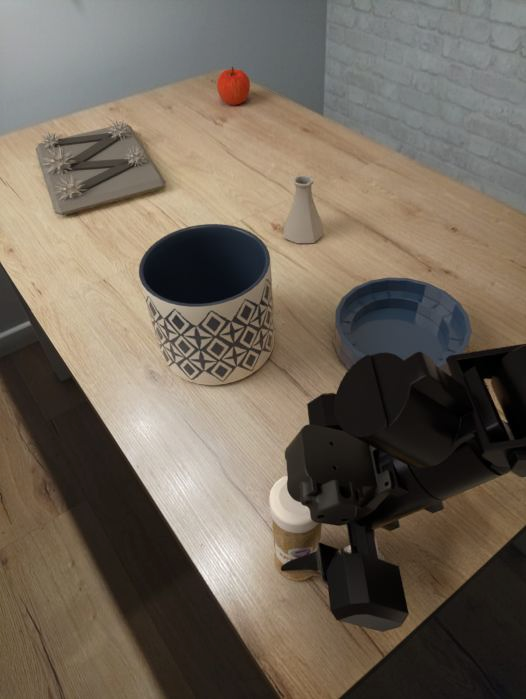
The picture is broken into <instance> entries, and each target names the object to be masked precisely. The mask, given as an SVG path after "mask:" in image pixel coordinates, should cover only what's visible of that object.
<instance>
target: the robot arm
mask: <svg viewBox="0 0 526 699" xmlns="http://www.w3.org/2000/svg"><path fill="white" fill-rule="evenodd" d="M446 363H447V365H448V368H449V370H450V373H451V376H449V375H448V374H447V373H445V372H444V371H442V370H441V369H440V368H438V367H437V366H436V364H435V363H434V361H433V360H432V359H431V358H430V357H428V356H427V355H425V354H424V353H423V352H416V353H415V354H413V355H411V356H410V357H408V358H407V359H405V360H403V359H401V358H400V357H398V356H397V355H395V354H391V353H377V354H374V355H371V356H370V355H366V356H364V357H363V358H361V359H360V360H358V361H357V362H356V363H355V364H354V365H353V366H352V367H351V368H350V369H348V370H347V371H346V372H345V374H344V376H343V377H342V379H341V381H340V382H339V385H338V387H337V389H336V393H334V392H325V393H321V394H320V395H318V396H317V397H316V398H314V399H312V400H310V401H309V402H308V403H307V404H306V407H307V416H308V424H305V425H304V426H302V427H301V429H300V431H299V432H298V433H297V434H296V435H295V437H294V438H293V439H292V440H291V442H290V443H289V444H288V445H287V447H286V448H285V449H284V459H285V463H286V475H287V477H288V480H287V490H288V493H289V495H290V496H291V497H292V498H293V499H294V500H296V501H298V502H301V504H302V505H304V506H307V507H308V508H309V510H310V516H311V519H312V521H314V522H316V523H322V525H330V526H336V527H340V526H345V525H346V528H347V535H348V541H349V544H348V545H347V546H346V545H345V546H344V547H343V549H342V548H341V549H340V548H337V547H334V546H332V545H328V544H325V543H323V542H320V543H318V549H317V551H316V552H313V553H310V554H307V555H304V556H302V557H299V558H296V559H293V560H290V561H288V562H287V563H285V564H283V565H282V566H281V571H282V572H286V573H290V574H300V575H311V577H321V580H322V582H323V584H324V585H326V587H327V590H328V601H329V610H330V612H331V614H332V615H333V616H334V618H335V620H336V621H337V622H342V623H345V624H348V625H353V626H358V627H362V628H366V629H369V630H374V631H378V632H380V633H381V632H382V633H384V632H388V631H391V630H394V629H399V628H401V627H402V626H403V624H404V623H405V622H406V620H407V618H408V617H409V614H410V613H409V607H408V603H407V598H406V594H405V588H404V584H403V579H402V575H401V569H400V565H397V564H394V563H392V562H390V561H386V559H385V557H384V556H383V555H382V553H381V552H380V551H379V546H378V540H377V536H376V530H377V529H383V530H386V531H388V532H392V531H395V530H397V529H400V528H401V524H400V520H401V519H404V518H406V517H408V516H411V515H412V514H413V515H414V514H415V513H417V512H420V511H422V510H424V511H427V512H428V513H431V514H436V513H438V512H440V511H443V510H444V509H445V507H444V503H443V501H446V500H449V499H450V498H453V497H455V496H457V495H460V494H462V493H465V492H467V491H469V490H472V489H473V488H476V487H479V486H481V485H483V484H485V483H488V482H491V481H492V480H495V479H497V478H500V477H502V476H504V475H507V474H508V473H510V472H511V473H512V474H514V475H516V476H517V477H519V478H526V343H521V344H514V345H507V346H501V347H495V348H490V349H483V350H477V351H476V350H475V351H469V352H465V353H463V354H456V355H451V356H448V357H447V358H446ZM485 380H490V384H491V388H492V391H493V393H494V395H495V397H496V400H497V402H498V405H499V406H500V409H501V411H502V414H503V415H504V418H505V420H502V417H501V415H500V413H499V411H498V409H497V406H496V404H495V401H494V399H493V397H492V395H491V392H490V390H489V388H488V385H487V383H486V381H485Z"/></svg>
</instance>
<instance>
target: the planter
mask: <svg viewBox="0 0 526 699" xmlns="http://www.w3.org/2000/svg"><path fill="white" fill-rule="evenodd" d="M138 278H139V282H140V287H141V290H142V293H143V297H144V300H145V304H146V307H147V310H148V314H149V318H150V320H151V324H152V328H153V331H154V335H155V338H156V341H157V345H158V348H159V352H160V354H161V357H162V360H163V362H164V364H165V365H166V367H167V368H168V369H169V370H170V371H171V372H172V373H173V374H175V375H176V376H178V377H179V378H181V379H182V380H185V381H187V382H191V383H194V384H198V385H205V386H208V385H209V386H219V385H226V384H230V383H235V382H237V381H240V380H242V379H243V380H244V378H246V377H249V376H251V375H252V374H254V373H255V372H256V371H258V370H259V369H260V368H261V367H262V366H263V365H264V364H265V363H266V362H267V361H268V359H269V358H270V356H271V354H272V352H273V348H274V344H275V321H274V320H275V319H274V317H275V316H274V299H273V298H274V297H273V278H272V262H271V255H270V251H269V249H268V247H267V245H266V244H265V243H264V241H263V240H262V239H261V238H259V236H257V235H256V234H254V233H252V232H251V231H250V230H249V231H248V230H247V229H244V228H241V227H238V226H234V225H230V224H221V223H205V224H196V225H191V226H187V227H184V228H180V229H178V230H174V231H173V232H170V233H168V234H165V235H164V236H162V237H161V238H159V239H158V240H156V241H155V242H154V243H153V244H152V245H151V246H149V248H147V250H146V251H145V252H144V253H143V256H142V257H141V259H140V262H139V265H138Z"/></svg>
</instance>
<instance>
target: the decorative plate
mask: <svg viewBox="0 0 526 699" xmlns="http://www.w3.org/2000/svg"><path fill="white" fill-rule="evenodd" d="M114 121H115V122H113V121H112V120H111V124H109V123H107V125H108V127H104V128H100V129H99V128H98V129H95V130H91V131H86V132H82V133H78V134H73V135H70V136H69V135H68V136H64V137H61V136H60V134H58V135H56V133H55V132H53V131H51V133H50V132H49V131H47V133H44V135H45V136H44V135H41V137H42V138H43V139H42V138H41V141H42V142H39V143H38V144H37V145H36V147H35V149H34V150H35V153H36V156H37V160H38V162H39V165H40V168H41V173H42V175H43V179H44V182H45V185H46V188H47V191H48V194H49V197H50V201H51V205H52V207H53V212H54V213H55V214H58V215H60V216H62V217H63V216H66V215H70V214H74V213H78V212H81V211H86V210H89V209H92V208H97V207H100V206H104V205H107V204H111V203H115V202H118V201H123V200H126V199H129V198H133V197H134V198H135V197H137V196H141V195H144V194H148V193H152V192H156V191H160V190H162V189H164V187H165V186H166V184H167V180H166V179H165V177H164V175H163V174H162V173H161V171H160V170H159V168H158V167H157V165H156V163H155V161H154V160H153V158H152V157H151V155H150V154H149V153H148V152H149V151H147V149H146V148H145V146H144V144H143V143H142V141H141V140H140V138H139V137H138V135H137V133H136V132H135V130H134V129H133V127H132V126H131V125H129V123H126V122H124V121H125V120H124V119H123V120H121V119H119V121H117V119H116V118H114Z"/></svg>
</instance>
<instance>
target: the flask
mask: <svg viewBox="0 0 526 699" xmlns="http://www.w3.org/2000/svg"><path fill="white" fill-rule="evenodd" d="M313 184H314V176H312V175H309V174H298V175H296V176H295V177H294V178H293V185H294V186H295V191H294V196H293V201H292V204H291V206H290V210H289V213H288V215H287V217H286V220H285V222H284V225H283V228H282V232H283V233H282V236H283V239H285V240H288V241H290V242H293V243H295V244H315V243H316V242H317V241H318V240H319V239H321V237H323V236H324V234H325V232H324V226H323V222H322V220H321V217H320V214H319V212H318V208H317V206H316V204H315V201H314V197H313V192H312V185H313Z"/></svg>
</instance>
